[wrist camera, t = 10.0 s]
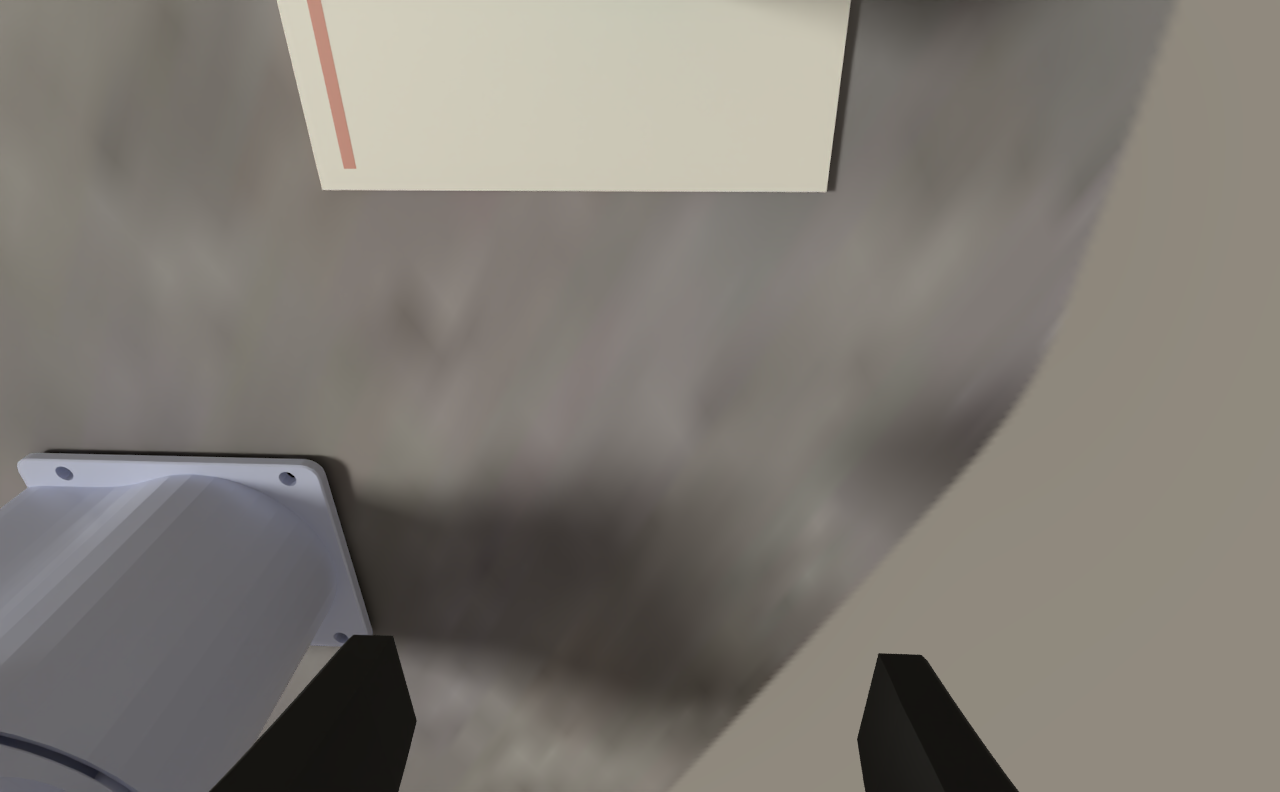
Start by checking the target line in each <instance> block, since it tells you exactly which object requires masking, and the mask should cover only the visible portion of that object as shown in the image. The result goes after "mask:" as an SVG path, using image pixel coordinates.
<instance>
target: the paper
mask: <svg viewBox="0 0 1280 792" xmlns="http://www.w3.org/2000/svg"><path fill="white" fill-rule="evenodd" d="M277 3H278V7H279V11H280V16H281V20H282V24H283V28H284V32H285V36H286V41H287V45H288V49H289V53H290V57H291V61H292V66H293V70H294V74H295V78H296V82H297V87H298V91H299V95H300V99H301V103H302V107H303V112H304V116H305V120H306V124H307V128H308V132H309V137H310V141H311V145H312V149H313V153H314V157H315V162H316V166H317V170H318V174H319V178H320V182H321V187H322V190H457V191H692V192H826V191H827V183H828V175H829V167H830V160H831V152H832V144H833V136H834V128H835V120H836V113H837V105H838V97H839V89H840V81H841V73H842V66H843V58H844V50H845V42H846V34H847V26H848V19H849V11H850V3H851V0H277Z"/></svg>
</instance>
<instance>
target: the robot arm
mask: <svg viewBox="0 0 1280 792" xmlns="http://www.w3.org/2000/svg"><path fill="white" fill-rule="evenodd" d="M17 468H18V471H19V473H20V475H21V477H22V478H23V480H24V482H25V484H26V485H27V487H28V488H26V489H25V490H24V491H22V492H21V493H20V494H19V495H17V496H16V497H15V498H13V499H12V500H11V501H9V502H8V503H7V504H5V505H4V506H3V507H2V508H0V792H398V791H399V787H400V783H401V780H402V776H403V772H404V769H405V765H406V761H407V757H408V753H409V749H410V745H411V741H412V737H413V733H414V729H415V725H416V721H417V720H416V717H415V713H414V710H413V706H412V703H411V699H410V695H409V692H408V688H407V685H406V681H405V677H404V674H403V670H402V667H401V663H400V660H399V656H398V652H397V649H396V645H395V642H394V638H393V636H378V635H373V631H372V627H371V624H370V621H369V617H368V614H367V611H366V607H365V604H364V601H363V597H362V594H361V590H360V587H359V584H358V580H357V577H356V574H355V570H354V567H353V564H352V560H351V557H350V554H349V550H348V547H347V544H346V540H345V537H344V534H343V530H342V527H341V524H340V520H339V517H338V514H337V510H336V507H335V504H334V500H333V497H332V494H331V490H330V487H329V484H328V480H327V477H326V474H325V471H324V470H323V468H322V467H321V466H320V465H319V464H318V463H316V462H314V461H312V460H307V459H279V458H236V457H194V456H151V455H108V454H65V453H30V454H28V455H27V456H25V457H24V458H23V459H21V460H20V461H19V462H18V465H17ZM286 472H288V473H291V474H292V475H294V476H295V478H293V477H291V476H289V475H288V474H287V473H286ZM310 645H316V646H342V647H341V648H340V649H339V650H338V651H337V652H336V653H335V655H334V656H333V657H332V658H331V659H330V660H329V661H328V663H327V664H326V665H325V666H324V667H323V668H322V669H321V670H320V672H319V673H318V674H317V675H316V676H315V677H314V678H313V680H312V681H311V682H310V683H309V684H308V685H307V686H306V687H305V689H304V690H303V691H302V692H301V693H300V694H299V695H298V696H297V698H296V699H295V700H294V701H293V702H292V703H291V704H290V705H289V706H288V708H287V709H286V710H285V711H284V712H283V713H282V714H281V715H280V716H279V718H278V719H277V720H276V721H275V722H274V723H273V724H272V725H271V726H270V727H269V728H268V730H267V731H266V732H265V733H264V734H263V735H262V736H261V737H260V738H259V739H258V740H257V738H258V736H259V734H260V733H261V731H262V729H263V727H264V725H265V724H266V722H267V720H268V718H269V717H270V715H271V713H272V711H273V709H274V708H275V706H276V704H277V702H278V701H279V699H280V697H281V695H282V694H283V692H284V690H285V688H286V686H287V685H288V683H289V681H290V679H291V678H292V676H293V674H294V672H295V670H296V669H297V667H298V665H299V663H300V662H301V660H302V658H303V656H304V654H305V653H306V651H307V649H308V647H309V646H310ZM256 740H257V741H256ZM255 741H256V742H255ZM857 741H858V748H859V754H860V761H861V767H862V773H863V780H864V786H865V791H866V792H1019V791H1018V790H1017V789H1016V787H1015V786H1014V785H1013V783H1012V782H1011V781H1010V779H1009V778H1008V777H1007V775H1006V774H1005V773H1004V771H1003V770H1002V769H1001V767H1000V766H999V764H998V763H997V762H996V760H995V759H994V758H993V756H992V755H991V753H990V752H989V751H988V749H987V748H986V746H985V745H984V744H983V742H982V741H981V739H980V738H979V736H978V735H977V733H976V732H975V731H974V729H973V728H972V726H971V725H970V724H969V722H968V721H967V719H966V718H965V716H964V715H963V713H962V712H961V711H960V709H959V708H958V706H957V705H956V703H955V702H954V700H953V699H952V697H951V696H950V694H949V693H948V691H947V690H946V688H945V687H944V685H943V684H942V682H941V681H940V679H939V678H938V676H937V675H936V673H935V672H934V670H933V669H932V667H931V666H930V664H929V663H928V661H927V660H926V659H925V658H924V657H923V656H922V655H909V654H880V653H879V654H878V658H877V662H876V666H875V670H874V674H873V678H872V682H871V686H870V690H869V694H868V698H867V702H866V706H865V710H864V714H863V718H862V722H861V726H860V730H859V734H858V738H857Z"/></svg>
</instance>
